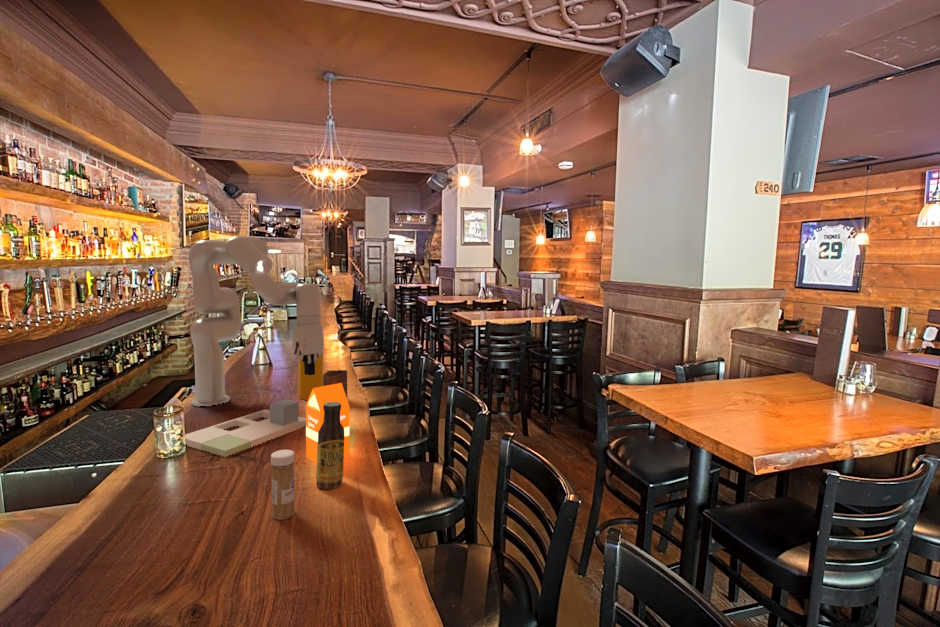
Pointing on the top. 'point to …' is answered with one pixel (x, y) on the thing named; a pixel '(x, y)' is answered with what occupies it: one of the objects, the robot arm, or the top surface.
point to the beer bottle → (310, 378)
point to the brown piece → (336, 378)
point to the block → (284, 412)
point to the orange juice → (317, 416)
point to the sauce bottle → (330, 448)
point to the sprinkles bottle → (283, 484)
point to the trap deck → (239, 434)
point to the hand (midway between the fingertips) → (309, 374)
